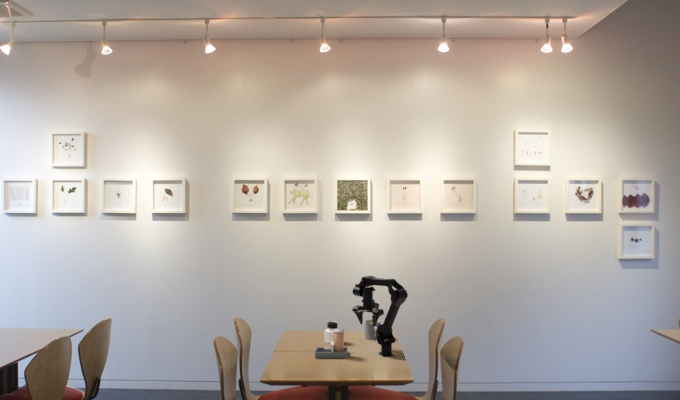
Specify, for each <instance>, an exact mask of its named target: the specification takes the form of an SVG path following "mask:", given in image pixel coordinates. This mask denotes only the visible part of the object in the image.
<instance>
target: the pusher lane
mask: <svg viewBox="0 0 680 400" xmlns="http://www.w3.org/2000/svg"><path fill="white" fill-rule="evenodd" d="M327 347H328V346H325V347H324V346H320V347H319V346H318V345H315V349H314V350H315V353H314V354H315V355H314V357H315V359H348V358H349V352H348V346H344V352H331V350H324V348H327Z"/></svg>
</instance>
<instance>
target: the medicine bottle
mask: <svg viewBox="0 0 680 400" xmlns="http://www.w3.org/2000/svg"><path fill="white" fill-rule="evenodd" d="M326 326H327V329H325V330H324V332H323V333H324V335H323V336H324V338H323V340H324V341H323V342H324V344H325V343H327V344H330V345H331V342H333V343H334V336H333V330H334V329H339V328H338V327H339V326H338V322H337V321H333V320H332V321H328V322H327V324H326Z"/></svg>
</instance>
